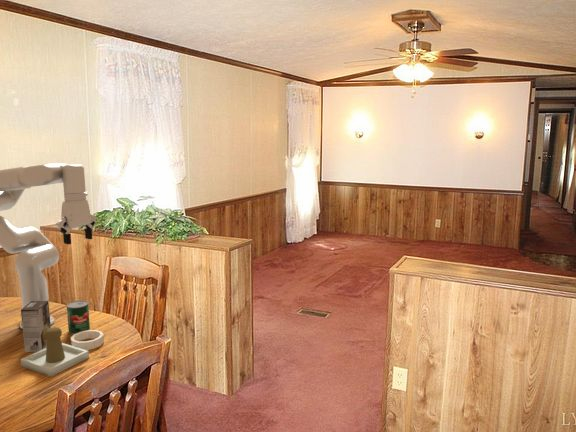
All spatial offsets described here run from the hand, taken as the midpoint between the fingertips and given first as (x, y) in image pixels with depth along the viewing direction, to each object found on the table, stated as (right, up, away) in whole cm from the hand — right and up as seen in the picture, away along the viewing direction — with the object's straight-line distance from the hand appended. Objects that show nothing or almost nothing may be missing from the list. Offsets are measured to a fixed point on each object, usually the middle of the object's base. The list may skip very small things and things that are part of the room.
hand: (78, 241), depth 185 cm
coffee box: (-11, -39, -8) cm, 41 cm away
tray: (+1, -40, -20) cm, 45 cm away
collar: (+6, -38, -6) cm, 39 cm away
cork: (+1, -40, -20) cm, 44 cm away
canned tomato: (-2, -36, +7) cm, 37 cm away
